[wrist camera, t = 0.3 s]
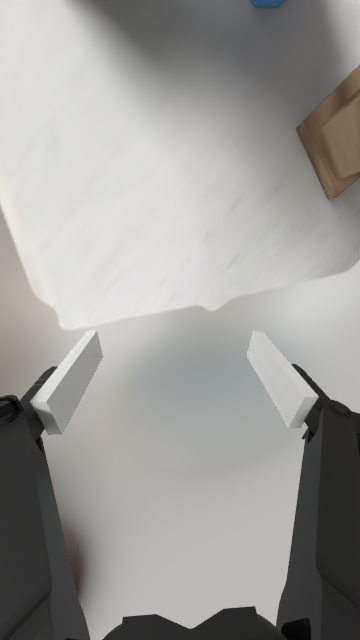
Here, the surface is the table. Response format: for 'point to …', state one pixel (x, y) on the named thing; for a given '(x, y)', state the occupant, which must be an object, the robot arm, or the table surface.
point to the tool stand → (335, 136)
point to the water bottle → (267, 3)
